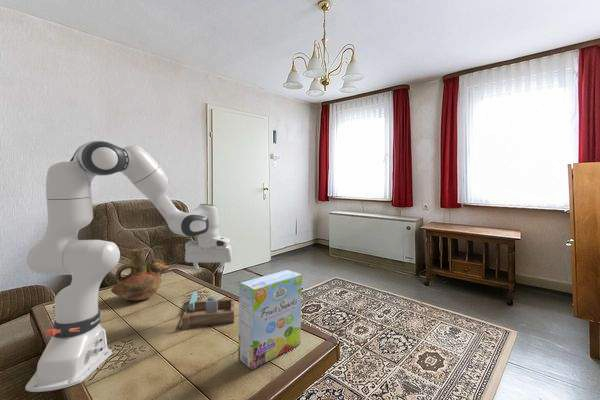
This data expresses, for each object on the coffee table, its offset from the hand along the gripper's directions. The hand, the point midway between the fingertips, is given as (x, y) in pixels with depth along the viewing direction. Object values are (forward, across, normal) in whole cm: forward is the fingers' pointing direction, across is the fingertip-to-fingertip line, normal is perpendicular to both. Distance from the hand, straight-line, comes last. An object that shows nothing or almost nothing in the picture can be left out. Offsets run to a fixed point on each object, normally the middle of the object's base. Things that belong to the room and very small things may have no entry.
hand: (209, 272), depth 125 cm
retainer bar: (+18, -10, +7) cm, 21 cm away
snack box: (+18, +30, -29) cm, 46 cm away
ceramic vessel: (+19, -40, +17) cm, 47 cm away
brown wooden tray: (+19, -1, +2) cm, 19 cm away
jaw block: (+18, +2, -3) cm, 18 cm away
